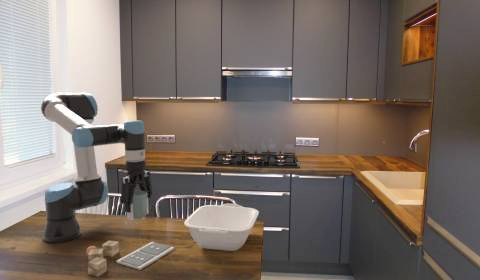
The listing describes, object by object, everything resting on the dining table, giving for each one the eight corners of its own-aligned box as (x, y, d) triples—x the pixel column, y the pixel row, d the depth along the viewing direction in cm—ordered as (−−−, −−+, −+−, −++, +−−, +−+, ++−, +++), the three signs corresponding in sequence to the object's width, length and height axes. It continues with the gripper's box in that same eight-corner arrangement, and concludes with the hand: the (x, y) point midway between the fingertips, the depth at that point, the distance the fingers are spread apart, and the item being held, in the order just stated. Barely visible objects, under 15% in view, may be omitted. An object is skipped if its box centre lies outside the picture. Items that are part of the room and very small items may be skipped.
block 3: (102, 255, 143) (102, 245, 142) (109, 250, 147) (108, 240, 147) (112, 256, 142) (112, 246, 141) (118, 252, 146) (118, 241, 146)
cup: (142, 221, 138) (141, 195, 136) (124, 219, 139) (122, 194, 138) (151, 214, 145) (150, 190, 144) (133, 213, 147) (132, 189, 145)
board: (116, 262, 137) (116, 259, 137) (152, 243, 154) (152, 240, 154) (140, 270, 131) (139, 266, 131) (174, 249, 149) (174, 246, 149)
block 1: (88, 266, 135) (88, 254, 134) (91, 260, 139) (90, 249, 138) (101, 264, 135) (100, 253, 135) (103, 259, 140) (102, 248, 139)
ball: (84, 256, 142) (83, 247, 141) (92, 252, 145) (92, 243, 145) (91, 258, 140) (90, 249, 139) (99, 254, 143) (99, 245, 143)
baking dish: (203, 226, 174) (203, 201, 172) (261, 231, 168) (261, 205, 166) (177, 258, 141) (176, 227, 139) (248, 265, 135) (248, 233, 133)
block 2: (96, 257, 132) (97, 268, 133) (87, 262, 128) (88, 274, 128) (106, 259, 130) (107, 270, 131) (97, 264, 126) (98, 276, 127)
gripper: (123, 165, 128) (126, 226, 131) (160, 156, 147) (162, 210, 150) (107, 164, 132) (111, 223, 135) (146, 155, 150) (148, 207, 153)
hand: (138, 216), depth 142 cm, fingers closed on cup, 8 cm apart
